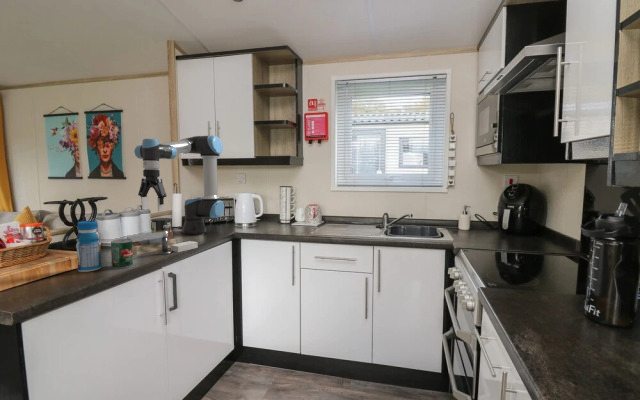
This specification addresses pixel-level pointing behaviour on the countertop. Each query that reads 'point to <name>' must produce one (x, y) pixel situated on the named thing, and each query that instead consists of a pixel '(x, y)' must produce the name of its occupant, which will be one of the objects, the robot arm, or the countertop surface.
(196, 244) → the block
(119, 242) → the canned tomato
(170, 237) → the hand plane
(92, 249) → the beverage bottle
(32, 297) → the countertop surface
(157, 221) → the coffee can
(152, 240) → the grey rectangular block
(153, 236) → the latch lever
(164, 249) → the lever post
